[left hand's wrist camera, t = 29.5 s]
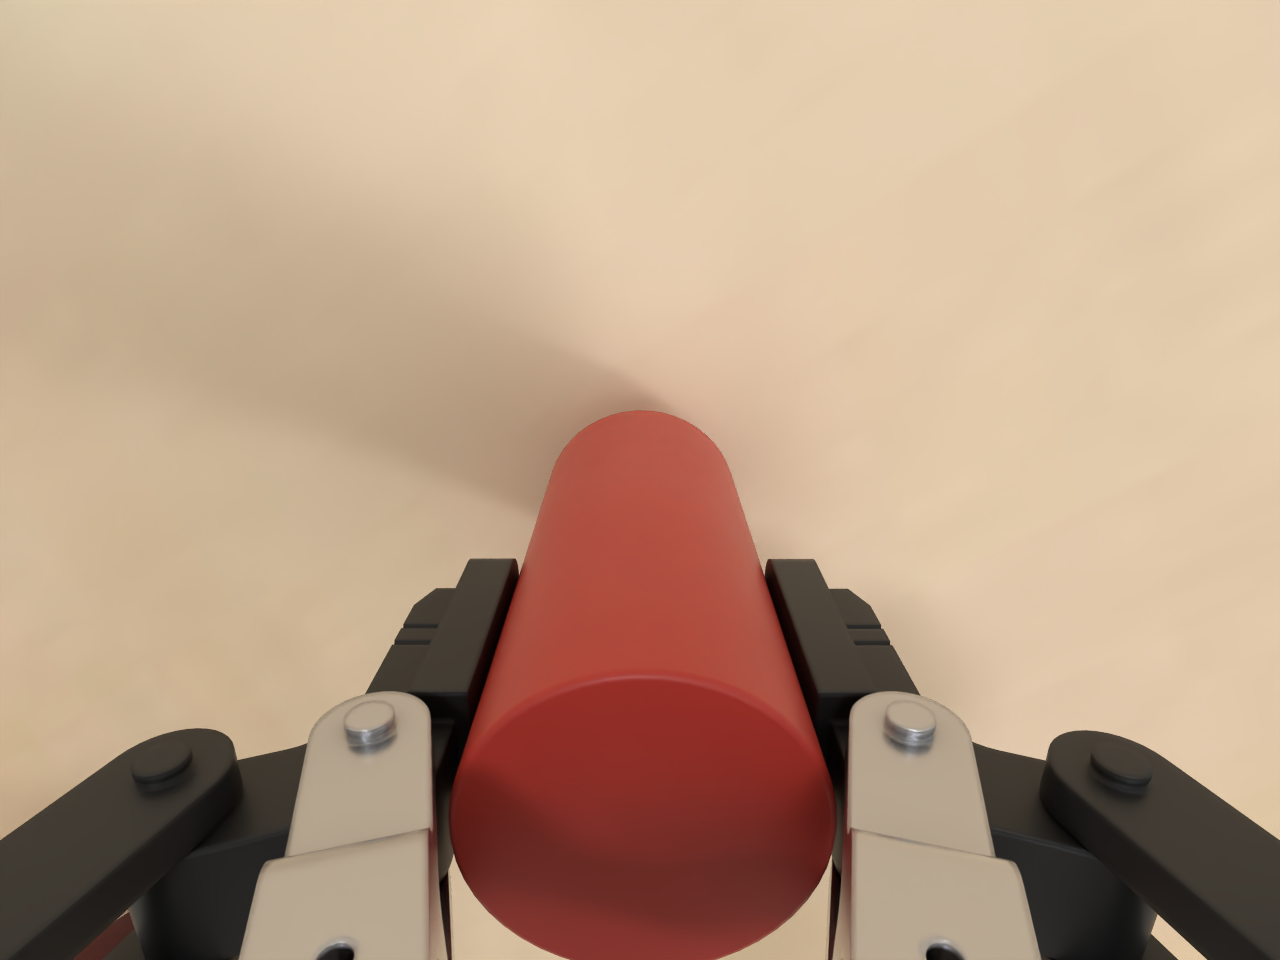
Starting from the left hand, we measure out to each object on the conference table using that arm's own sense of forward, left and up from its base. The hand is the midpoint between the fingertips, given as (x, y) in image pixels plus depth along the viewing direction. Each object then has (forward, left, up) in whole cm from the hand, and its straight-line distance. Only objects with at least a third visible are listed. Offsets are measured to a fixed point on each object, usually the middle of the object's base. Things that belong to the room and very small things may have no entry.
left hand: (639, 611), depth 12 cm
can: (0, 0, -4) cm, 4 cm away
